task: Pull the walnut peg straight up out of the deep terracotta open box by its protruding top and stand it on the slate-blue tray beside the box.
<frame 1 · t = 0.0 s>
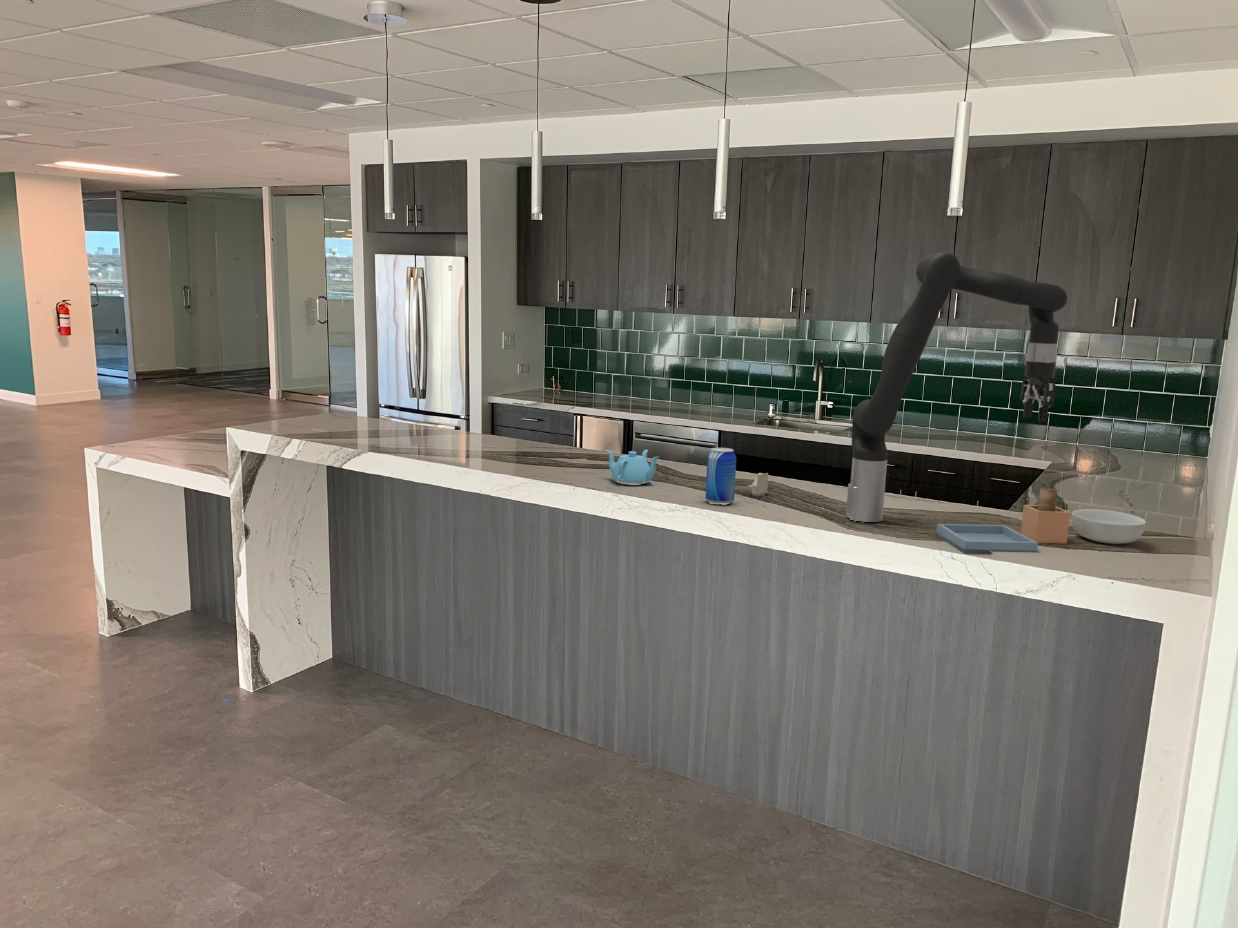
hand: (1034, 419, 255), 29 cm above the table, tool pointing down, fingers open, 8 cm apart
slate-blue tray: (984, 544, 234), on the table
walnut peg: (1043, 538, 238), point 1 cm above the table, touching terracotta open box
cereal bowl: (1104, 543, 240), on the table
terracotta open box: (1042, 541, 239), on the table
architectural model: (758, 497, 286), on the table
teapot: (633, 483, 301), on the table
beer can: (719, 503, 273), on the table
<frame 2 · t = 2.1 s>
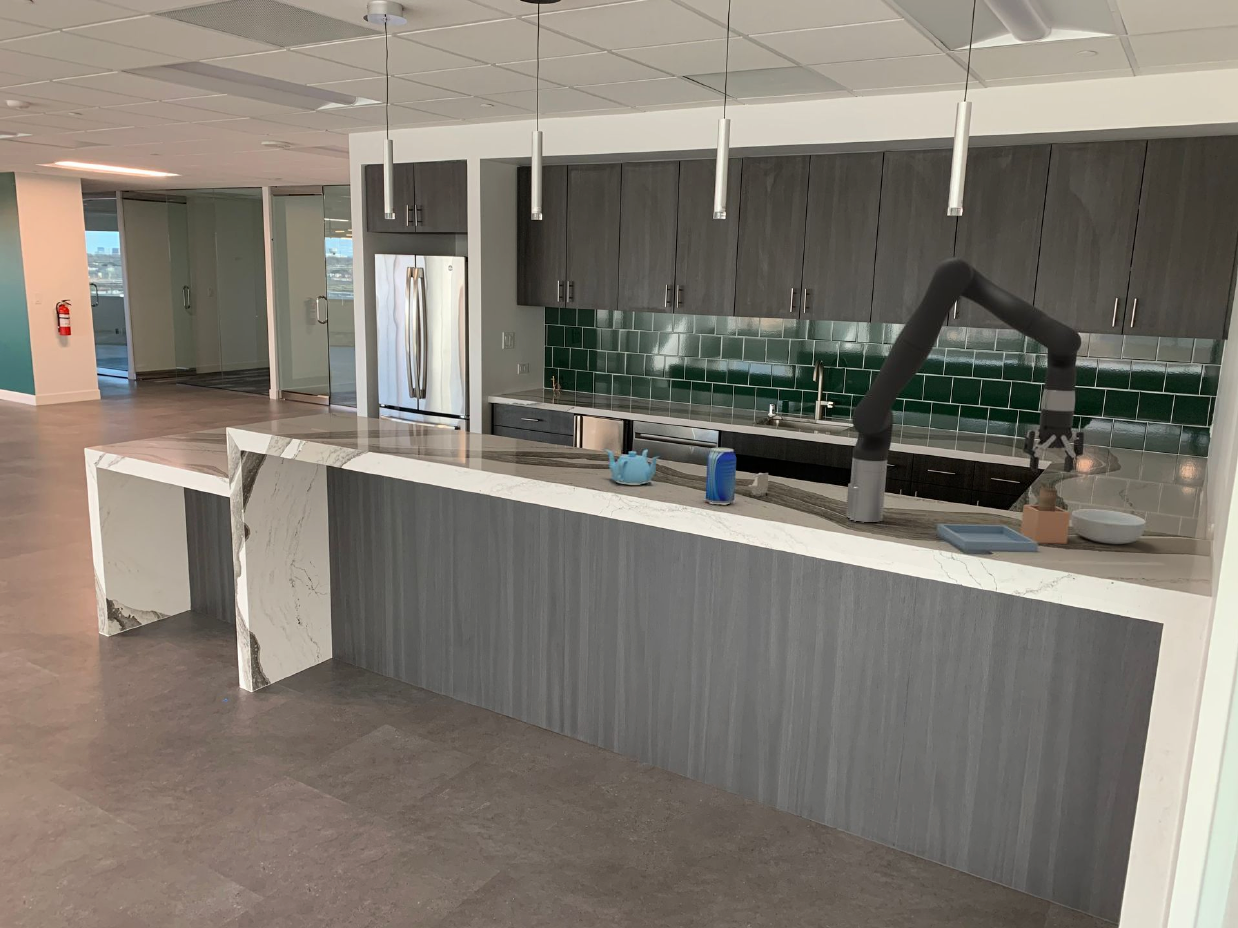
hand: (1050, 471, 235), 18 cm above the table, tool pointing down, fingers open, 8 cm apart
nothing on the table moved.
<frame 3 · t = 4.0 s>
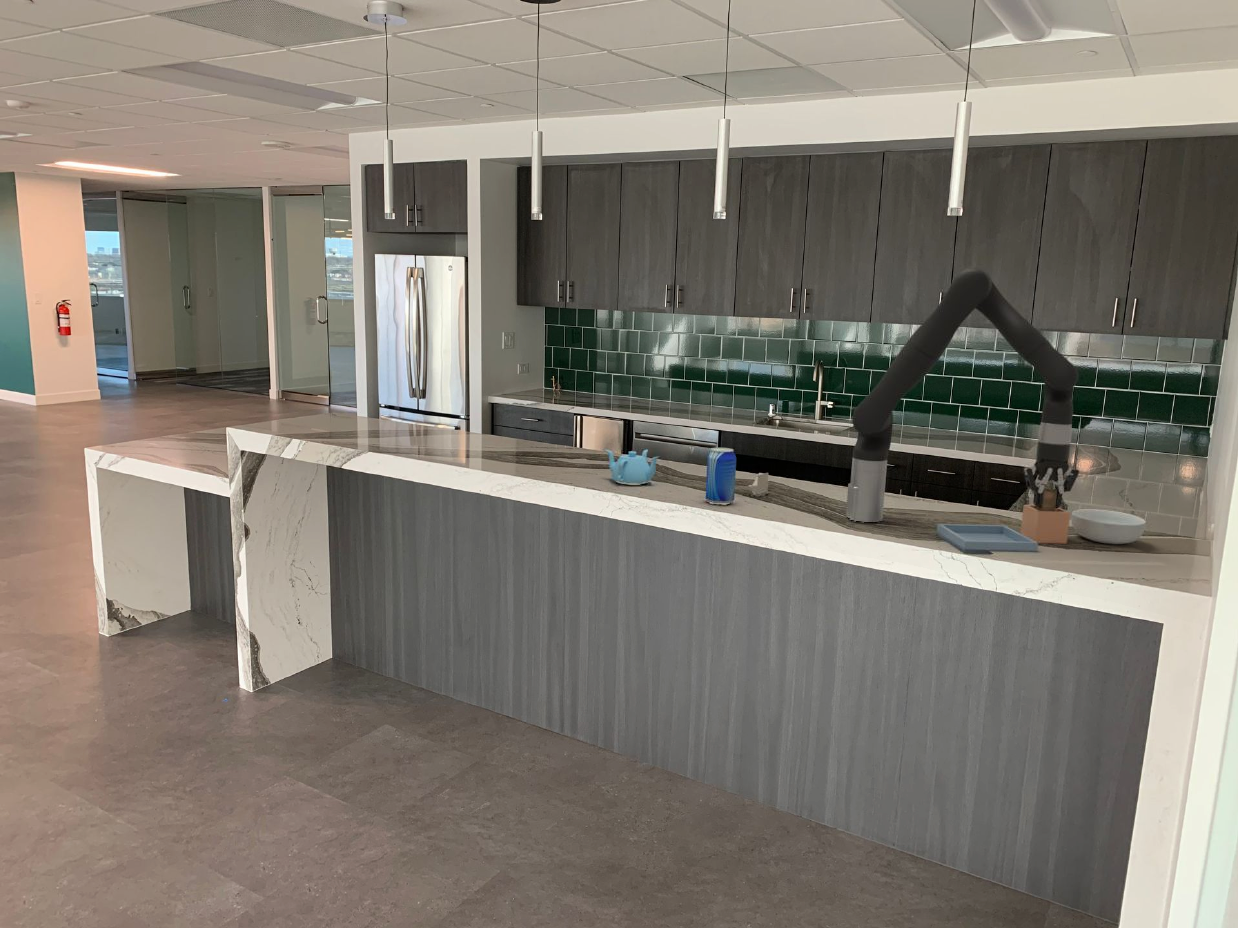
hand: (1046, 506, 237), 9 cm above the table, tool pointing down, fingers closed on walnut peg, 4 cm apart
walnut peg: (1043, 538, 238), point 1 cm above the table, touching gripper, terracotta open box
everything else where it was.
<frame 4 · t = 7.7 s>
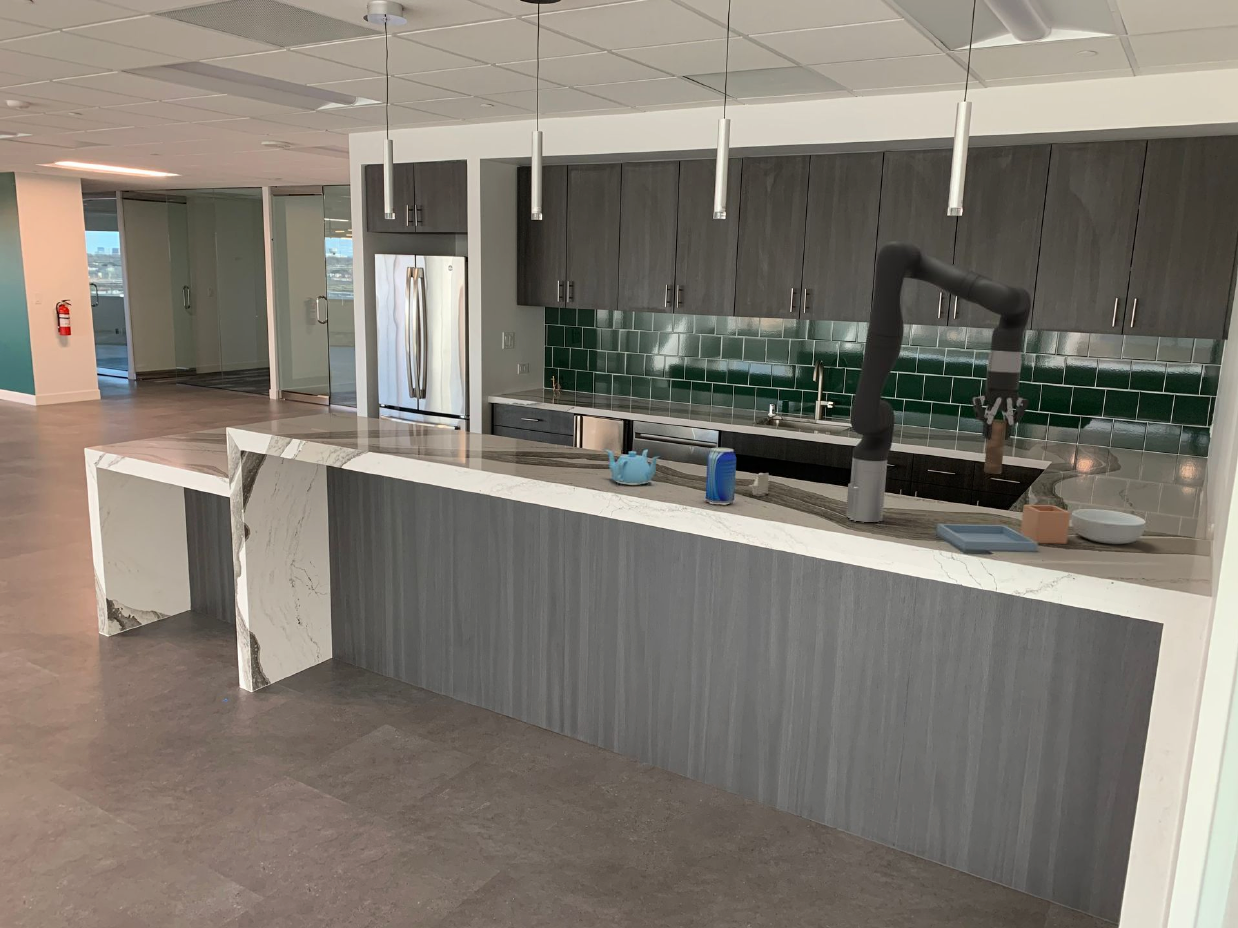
hand: (996, 438, 229), 27 cm above the table, tool pointing down, fingers closed on walnut peg, 4 cm apart
walnut peg: (992, 472, 231), point 19 cm above the table, touching gripper
everything else where it was.
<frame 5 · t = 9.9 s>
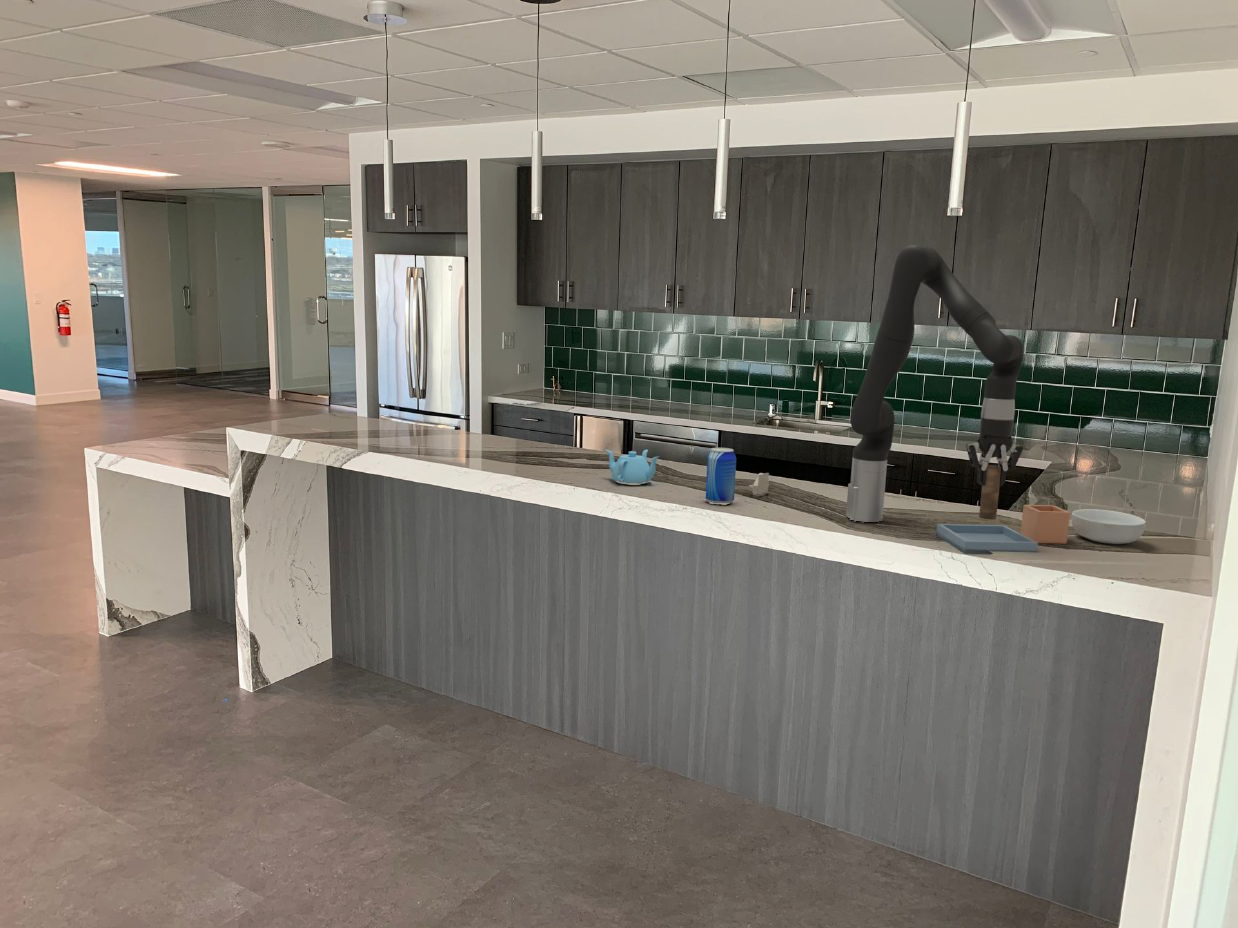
hand: (990, 484, 231), 15 cm above the table, tool pointing down, fingers closed on walnut peg, 4 cm apart
walnut peg: (987, 517, 233), point 7 cm above the table, touching gripper
everything else where it was.
when the fingers open (11 cm above the table, at t = 11.7 s): walnut peg drops 1 cm, resting on slate-blue tray.
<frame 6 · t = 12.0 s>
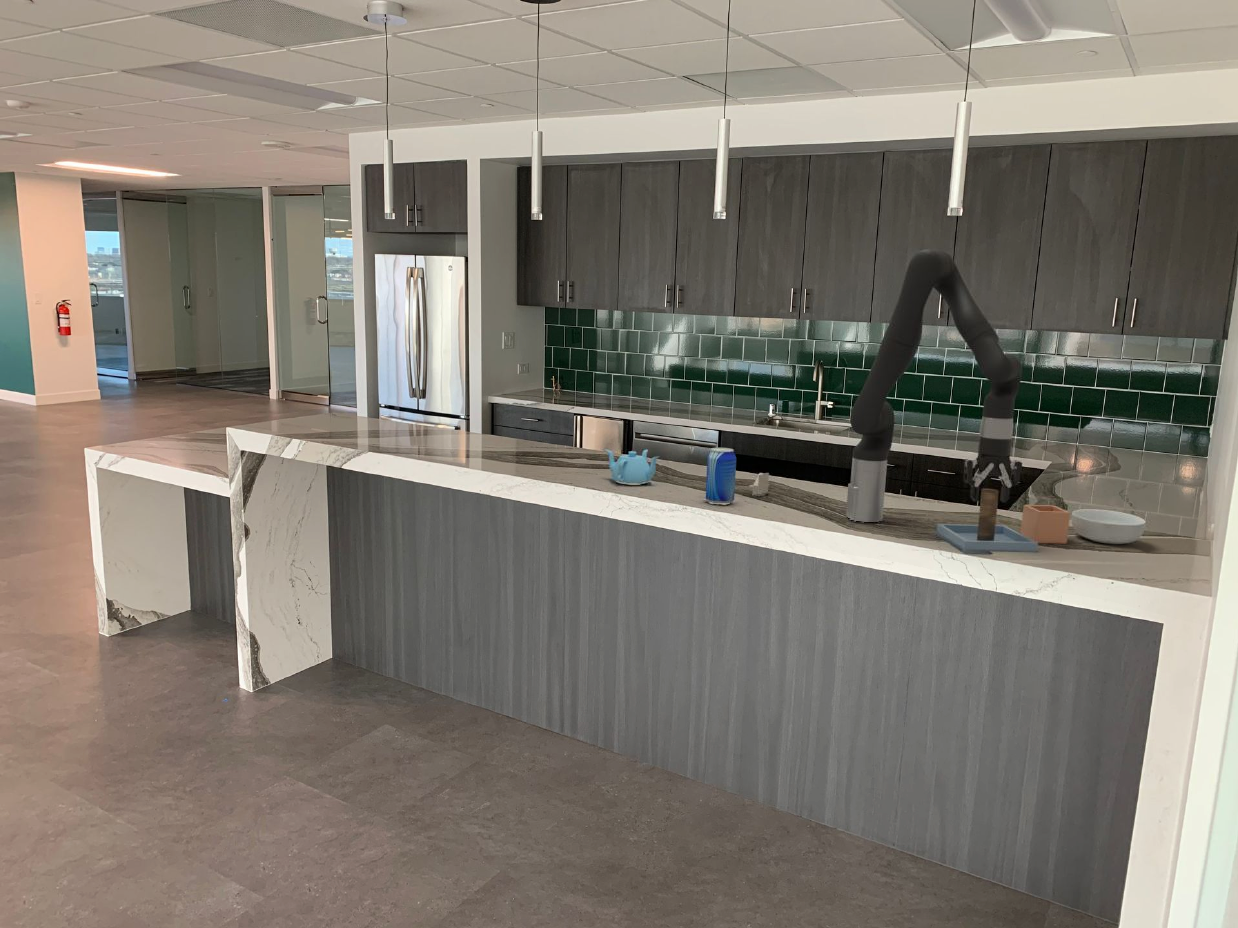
hand: (989, 501, 232), 11 cm above the table, tool pointing down, fingers open, 6 cm apart
walnut peg: (985, 540, 234), point 1 cm above the table, touching slate-blue tray
everything else where it was.
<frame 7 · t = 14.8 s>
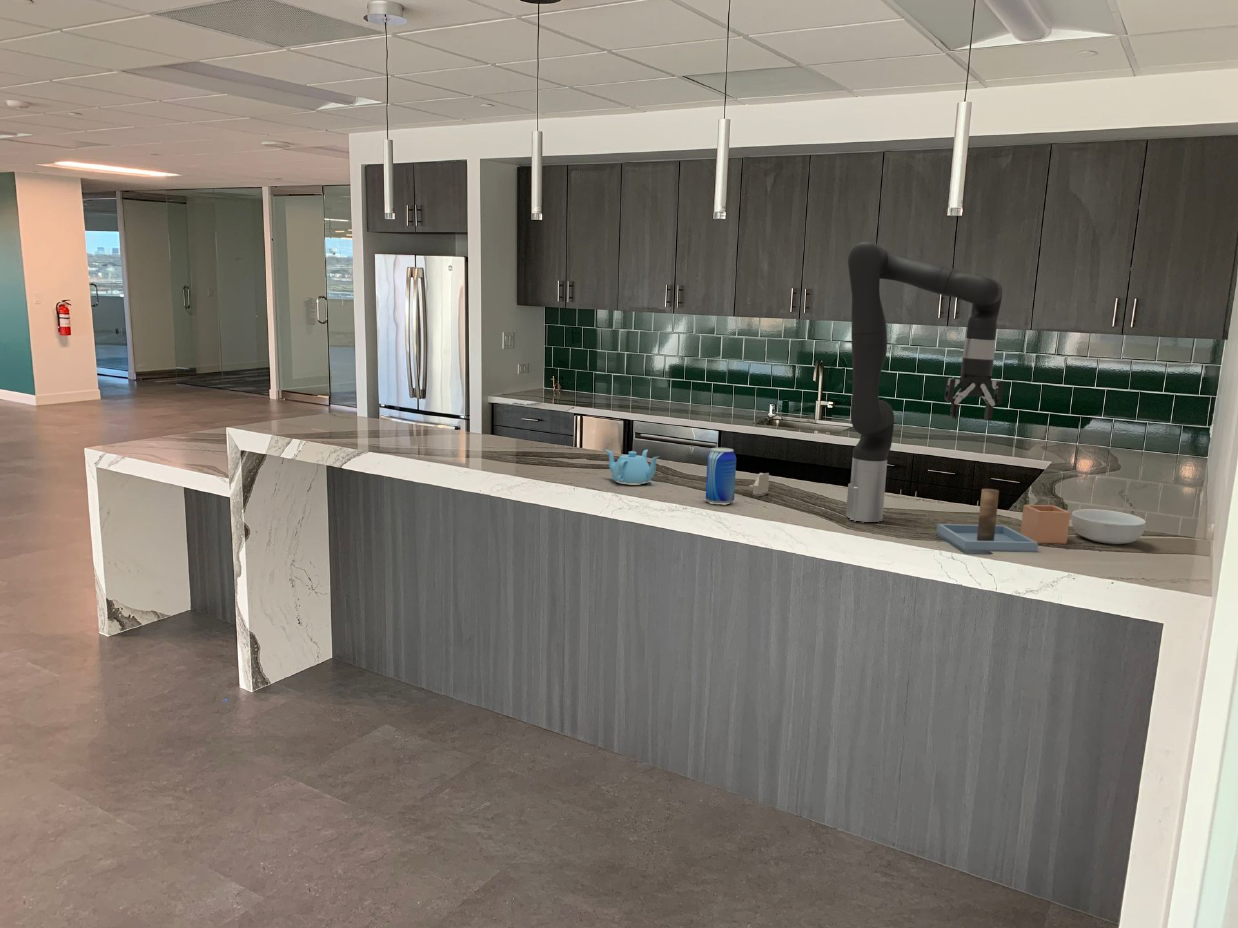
hand: (970, 419, 241), 30 cm above the table, tool pointing down, fingers open, 8 cm apart
nothing on the table moved.
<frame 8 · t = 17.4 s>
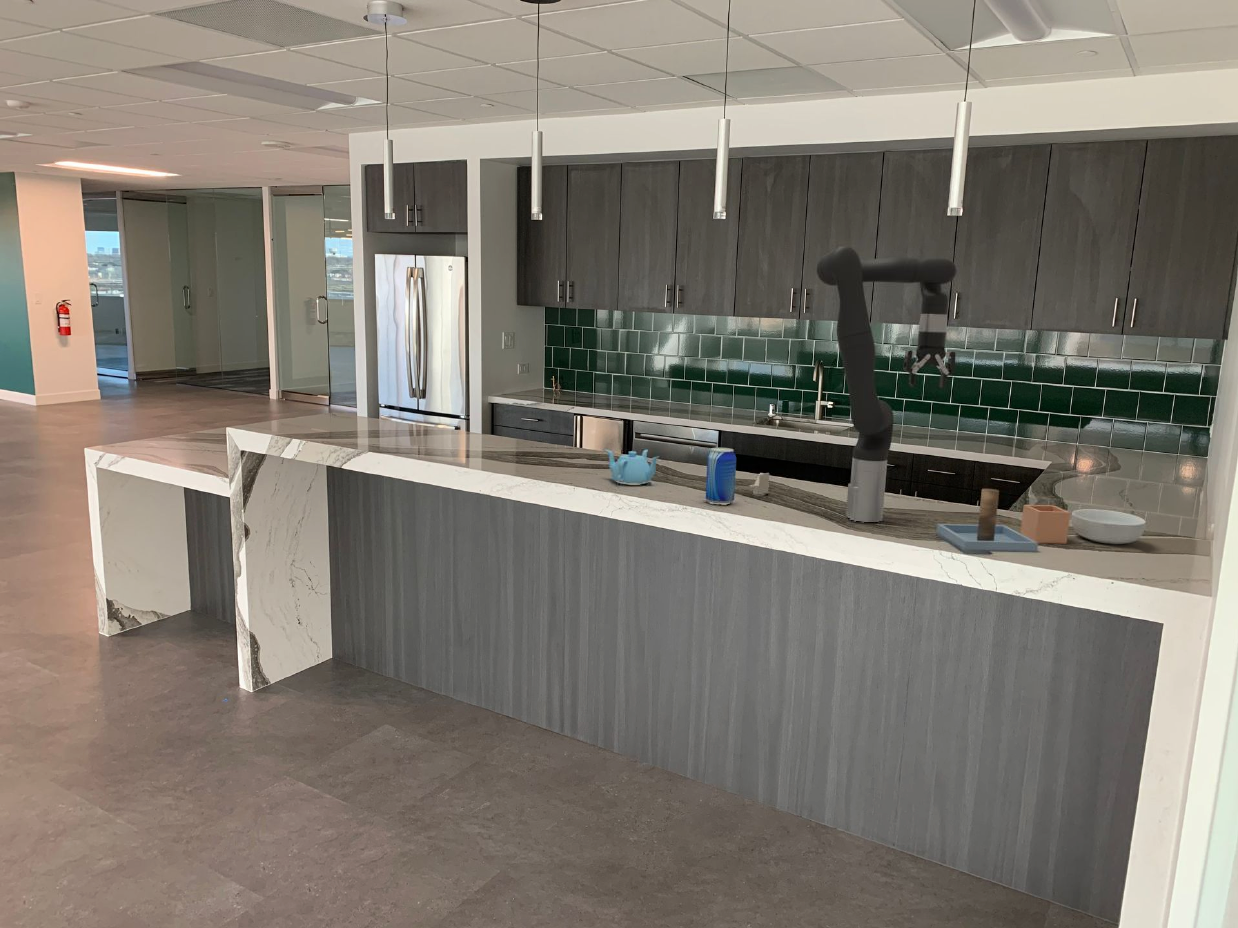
hand: (927, 387, 267), 36 cm above the table, tool pointing down, fingers open, 8 cm apart
nothing on the table moved.
at the end: walnut peg inside the target area on the slate-blue tray (0.0 cm from its centre), point 1.0 cm above the slate-blue tray's base; walnut peg tilted 0°; the gripper is holding nothing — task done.
